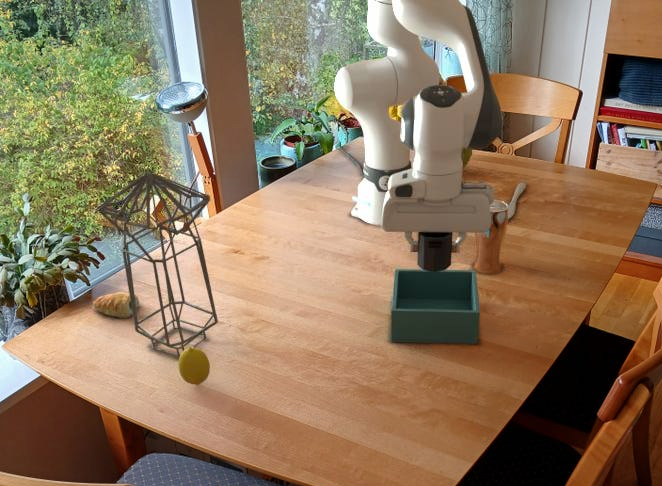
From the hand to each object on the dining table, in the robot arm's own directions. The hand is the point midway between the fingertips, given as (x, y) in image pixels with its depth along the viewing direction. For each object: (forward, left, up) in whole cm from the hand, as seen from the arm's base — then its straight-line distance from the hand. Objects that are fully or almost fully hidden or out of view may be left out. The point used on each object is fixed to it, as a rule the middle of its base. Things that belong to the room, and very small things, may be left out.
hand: (434, 251), depth 141 cm
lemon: (+24, -43, -16) cm, 51 cm away
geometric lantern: (+11, -50, -16) cm, 53 cm away
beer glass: (-23, +12, -16) cm, 30 cm away
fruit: (-81, +3, -16) cm, 82 cm away
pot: (0, 0, -3) cm, 3 cm away
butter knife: (-59, +21, -15) cm, 65 cm away
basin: (0, 0, -15) cm, 16 cm away
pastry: (-1, -67, -16) cm, 68 cm away
